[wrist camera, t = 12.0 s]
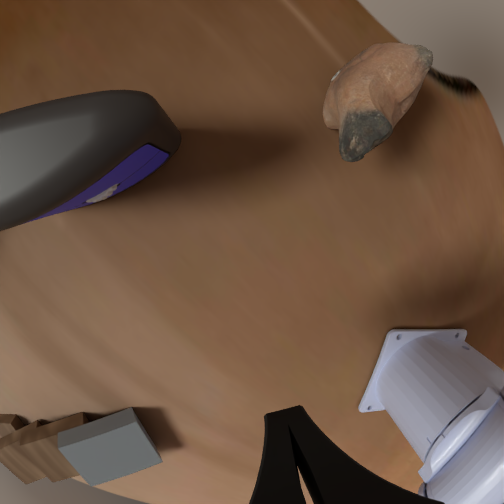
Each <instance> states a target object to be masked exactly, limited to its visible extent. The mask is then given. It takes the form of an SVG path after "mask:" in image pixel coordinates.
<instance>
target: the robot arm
mask: <svg viewBox="0 0 504 504" xmlns="http://www.w3.org/2000/svg"><path fill="white" fill-rule="evenodd" d="M398 335H399V336H398ZM397 336H398V337H397ZM466 336H467V331H466V330H465V329H393V330H391V331H389V332H388V334H387V336H386V339H385V342H384V345H383V347H382V350H381V353H380V356H379V358H378V361H377V364H376V366H375V369H374V371H373V374H372V376H371V379H370V381H369V384H368V386H367V388H366V391H365V393H364V395H363V398H362V400H361V402H360V405H359V407H358V409H359V411H360V412H371V411H379V410H386V411H387V412H388V413H389V415H390V416H391V418H392V419H393V420H394V422H395V423H396V425H397V426H398V427H399V429H400V430H401V432H402V433H403V435H404V436H405V437H406V439H407V440H408V442H409V443H410V444H411V446H412V447H413V449H414V450H415V452H416V453H417V454H418V456H419V457H420V459H421V460H422V462H423V463H424V465H423V466H422V468H421V469H420V470H419V471H418V473H419V474H420V476H421V477H422V479H423V480H424V482H423V483H422V484H421V486H420V487H419V491H418V494H415V493H413V492H410V491H408V490H405V489H403V488H401V487H399V486H397V485H395V484H393V483H391V482H388V481H387V480H385V479H383V478H381V477H379V476H377V475H376V474H374V473H372V472H371V471H369V470H368V469H366V468H365V467H363V466H362V465H360V464H359V463H357V462H356V461H355V460H353V459H352V458H351V457H349V456H348V455H347V454H346V453H345V452H343V451H342V450H341V449H340V448H339V447H338V446H336V445H335V444H334V443H333V442H332V441H331V440H330V439H329V438H328V437H327V436H326V435H325V434H324V433H323V432H322V431H321V430H320V429H319V427H318V426H317V425H316V424H315V423H314V422H313V420H312V419H311V418H310V417H309V415H308V414H307V412H306V411H305V410H304V408H303V406H300V405H298V406H295V407H291V408H287V409H283V410H280V411H276V412H271V413H267V414H266V415H265V416H264V421H265V437H264V446H263V453H262V460H261V465H260V469H259V473H258V477H257V481H256V485H255V488H254V491H253V494H252V497H251V500H250V503H249V504H306V501H305V498H304V495H303V492H302V489H301V484H300V479H299V473H298V468H299V471H300V473H301V475H302V478H303V480H304V482H305V485H306V487H307V489H308V491H309V494H310V496H311V498H312V500H313V503H314V504H504V371H503V370H502V369H501V368H499V367H498V366H497V365H496V364H494V363H493V362H492V361H490V360H489V359H488V358H486V357H485V356H484V355H482V354H481V353H480V352H478V351H477V350H476V349H474V348H473V347H472V346H470V345H469V344H468V343H466V342H465V338H466ZM297 466H298V468H297Z"/></svg>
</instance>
